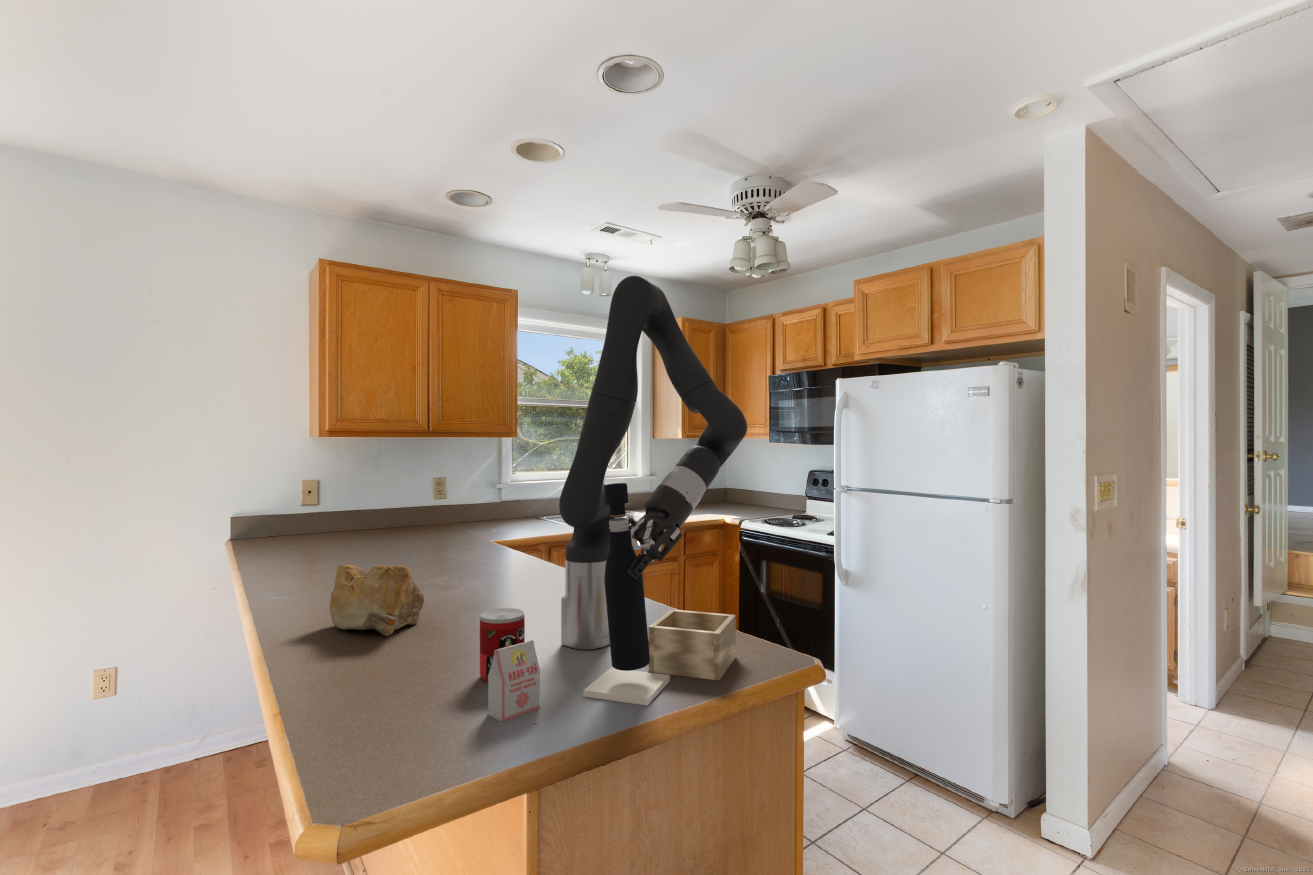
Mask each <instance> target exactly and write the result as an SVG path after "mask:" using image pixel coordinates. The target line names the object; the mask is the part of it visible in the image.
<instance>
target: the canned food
mask: <svg viewBox="0 0 1313 875" xmlns="http://www.w3.org/2000/svg"><path fill="white" fill-rule="evenodd" d="M479 617H480V618H479V675H480V679H481V681H483V682H484V683H487V684H488V674H489V671H490V668H491V665H492V661H493V657H494V652H495V650H497V649H501V648H505V647H509V646H512V645H516V644H520V643H524V642H526V641H525V635H526V634H525V627H526V626H525V625H526V624H525V611H523V610H522V609H519V608H514V607H513V608H512V607H505V608H504V607H503V608H493V609H489V610H486V611H483V612H482V613H480V616H479Z"/></svg>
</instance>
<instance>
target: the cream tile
mask: <svg viewBox="0 0 1313 875" xmlns="http://www.w3.org/2000/svg"><path fill="white" fill-rule="evenodd" d="M670 678H671V675H670V674H662V673H654V672H649V671H648V672H647V671H640V670H631V671H622V670H617V669H615V668H613V667H610V668H609V669H608V670H607V671H605V672H604V673H603V674H601V675H600V676H599V677H598V678H596V679H595V680H594V681H593V682H592V683H591V684H589V685H588V686H587V687H586V688H585V689H583V697H584V698H592V699H598V700H606V701H614V702H621V703H628V704H633V705H642V706H647V707H648V706H649V705H650V704H651V702H652V701H653V700H654V699H655V698H656V697H657V696H658V695H659V693H660V692H661V691H662V690H663V689H664V688H665V687H666V686H667V685H668V684H669V682H670V681H671V679H670Z"/></svg>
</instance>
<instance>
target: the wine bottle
mask: <svg viewBox="0 0 1313 875" xmlns="http://www.w3.org/2000/svg"><path fill="white" fill-rule="evenodd" d="M604 494H605V505H610V517H612V518H615V519H611V520H609V522H610V523H609V525H610V527H609V529H610V531H609V532H608V536H609V547H610V548H609V553H608V557H607V561H606V567H605V577H604V583H605V594H606V605H607V617H608V628H609V639H610V644H609V648H610V649H609V650H610V660H611V666H612V668H615V669H617V670H622V671H631V670H632V671H638V670H640V669H644V668H645V667H647V666H649V663H650V654H649V642H648V620H647V611H646V599H645V587H644V577H643V573H642V574H641V575H640V576H639V578H638V579H637V580H635V579H632V578H631V577H630V576H629V575H628V574H627V569H628V568H629V567H630V565H631V564H632V562H633V561H634V560H635V558H636V557H637V556H638V555H637V554H636V552H635V550H634V549H633V547H632V539H631V530H630V529H628V527H629V525H628V522H629V521H628V519H629V518H628V517H627V518H626V517H625V516H626V515H627V512H626V504H629V502H630V501H629V492H628V484H627V482H626V483H625V482H617V483H608V484H606V485H604Z"/></svg>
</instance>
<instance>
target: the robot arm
mask: <svg viewBox="0 0 1313 875" xmlns="http://www.w3.org/2000/svg"><path fill="white" fill-rule="evenodd" d="M673 312H674V311H673V309H672V307H671V305H670V303H669V300H668V298H667V296H666V294H665V293H664V291H663V290H662V289H661V288H660V287H659V286H657V285H656V284H654V283H653V282H652V281H650V280H648V279H646V278H645V277H642V276H640V275H637V274H636V275H635V274H633V275H628V276H626V277H624V278H623V279H621V280H620V281H619V283H618V284H617V285H616V287H615V289H614V291H613V294H612V297H611V301H610V306H609V312H608V319H607V325H606V333H605V338H604V342H603V346H602V350H601V354H600V358H599V363H598V366H597V367H598V368H597V371H596V375H595V378H594V382H593V385H592V387H591V392H590V395H589V399H588V403H587V407H586V412H585V417H584V421H583V423H582V428H581V432H580V435H579V439H578V443H577V446H576V452H575V455H574V458H573V460H572V463H571V466H570V469H569V472H568V473H567V477H566V480H565V483H564V484H563V488H562V490H561V492H560V496H559V502H558V510H559V515H560V516H561V518H562V521H564V523H565V524H567V525H568V526H570V527H572V528H573V532H572V536H571V539H570V540H569V542H568V543H567V544H566V546H565V549H564V550H565V553H564V554H565V555H564V556H565V557H564V558H565V560H564V562H565V563H564V565H565V566H564V567H565V568H564V569H565V570H564V571H565V572H564V575H565V578H564V579H565V581H564V582H565V583H564V584H565V586H564V587H565V588H564V589H565V590H564V592H565V594H564V596H562V597H561V599H560V602H561V603H560V606H561V607H560V612H561V613H560V616H561V618H560V622H561V623H560V624H561V625H560V628H561V630H560V645H562V646H563V645H564V646H566V647H568V648H571V649H575V650H595V649H596V650H597V649H601V648H603V647H607V646H608V645H609V646H610V639H609V628H608V617H607V605H606V594H605V583H604V577H605V567H606V561H607V557H608V553H609V548H610V547H609V536H608V532H609V531H610V529H609V527H610V525H609V523H610V522H609V520H611V519H616V518H612V517H610V505H605V494H604V485H607V484H605V483H604V481H605V476H606V472H607V469H608V467H609V464H610V462H611V459H612V457H613V456H614V454H615V453H616V450H617V449H618V447H619V446H620V444H621V442H622V440H623V439H624V437H625V435H626V434H627V431H628V429H629V427H630V425H631V423H632V422H631V421H632V418H633V415H634V411H635V408H636V407H635V406H636V403H637V398H638V394H639V393H638V392H639V390H638V389H639V379H638V378H639V377H638V376H639V375H638V365H637V364H638V363H637V362H638V360H637V359H638V357H637V356H638V355H637V353H638V347H639V343H640V340H641V336H642V332H643V333H644V334H645V336H647V338H648V339H649V340H650V341H651V343H652V344H653V345H654V346H655V349H656V350H657V351H658V354H659V355H660V358H661V360H662V362H663V366H664V369H665V372H666V375H667V376H668V378H669V381H670V382H671V385H672V386H673V388H674V389H675V391H676V393H677V394H678V396H679V397H680V399H681V401H682V402H683V404H684V405H685V407H686V408H687V409H688V410H689V412H691V413H693V414H700V415H701V416H702V417H703V418H704V420H705V421H706V422H707V425H706V426H705V428H704V429H703V431H702V432H701V434H700V435H699V437H698V439H696V441H695V443H694V444H693V445H692V447H689V449H688V450H686V451H685V453H684V454H683V455H682V456H681V458H680V459H679V460H678V462H676V464H675V466H674V467H673V468H672V469H671V470H670V471H669V472H668V473H667V474H666V475H665V476H664V477H663V479H662V480H661V482H660V483H659V484H658V485H657V487H656V488H655V489H654V491H653V492H652V494H651V495H650V496H649V497H648V498H647V500H646V501H645V503H644V509H645V514H644V515H643V516H642V517H641V518H639V520H634V518H633V517H629V518H627V519H628V521H629V522H628V525H629V527H628V529H630V530H631V539H632V547H633V549H634V551H635V550H637V551H638V550H641V551H640V553H638V554H637V555H636V556H637V557H636V558H635V560H634V561H633V562H632V564H631V565H630V567H629V568H628V569H627V574H628V575H629V576H630V577H631V578H632V579H635V580H637V579H638V578H639V576H640V575H641V574H642V575H643V572H644V571H645V570H646V568H647V567H648V566H649V564H650V563H651V564H652V563H654V562H655V561H658V562H662V561H663V560H664V559H665V557H666V556H667V555H668V553H670V551H671V550H672V549H673V548H674V547H675V546H676V544H677V543H678V541H679V540H680V539H681V538H682V536H683V533H682V532H681V531H680V529H681V528H682V526H683V525H684V524H685V522H686V521H687V520H688V518H689V517H690V515H691V514H692V513H693V511H694V510H695V508H696V507H697V506H698V505H699V503H700V502H701V500H702V498H703V496H704V494H705V492H706V490H707V489H708V487H710V486H711V484H712V482H713V481H714V480H715V478H716V476H717V475H718V474H719V471H720V469H721V467H723V465H724V464H725V462H726V461H727V460H728V459H729V458H730V456H731V455H732V454H733V452H735V450H736V449H737V448H738V446H739V444H741V442H742V441H743V439H744V438H745V437H746V434H747V432H748V422H747V419H746V417H745V415H744V413H743V412H742V410H741V409H740V407H738V405H737V404H736V403H735V402H734V401H732V400H731V399H730V398H729V397H728V395H726V394H725V393H724V392H723V391H721V389H720V388H718V386H717V385H716V383H715V381H714V380H713V379H712V377H711V375H710V374H709V372H708V370H707V369H706V368H705V366H704V364H703V363H702V362H701V360H700V359H699V357H698V356H697V354H696V353H695V351H694V350H693V348H692V347H691V345H690V343H689V342H688V341H687V339H686V337H685V335H684V333H683V331H682V330H681V328H680V325H679V322H678V321H677V319H676V316H675V315H674V313H673ZM662 546H664V548H662Z"/></svg>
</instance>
